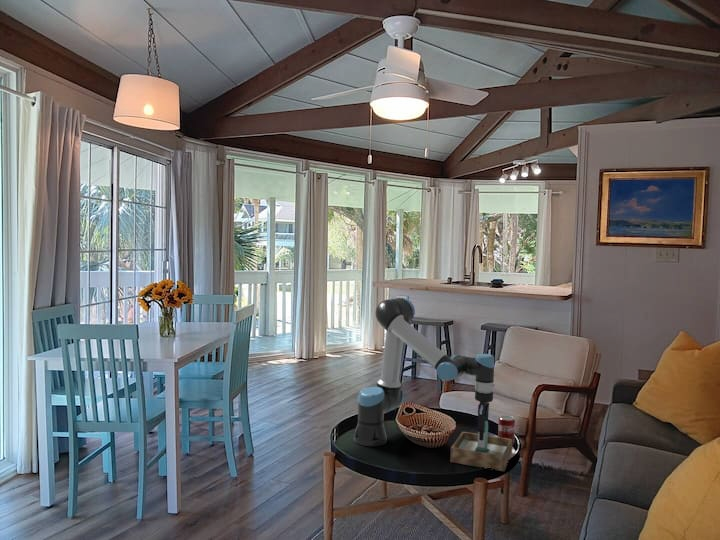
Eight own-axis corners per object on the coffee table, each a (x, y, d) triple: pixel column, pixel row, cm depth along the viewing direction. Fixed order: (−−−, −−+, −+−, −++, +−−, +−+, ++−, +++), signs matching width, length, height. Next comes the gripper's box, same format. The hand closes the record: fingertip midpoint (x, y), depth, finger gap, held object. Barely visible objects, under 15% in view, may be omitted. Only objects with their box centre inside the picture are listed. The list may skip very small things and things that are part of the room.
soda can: (514, 447, 250) (515, 421, 249) (498, 445, 251) (499, 419, 250) (513, 441, 257) (514, 416, 256) (497, 440, 258) (498, 414, 258)
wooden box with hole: (450, 461, 231) (450, 447, 231) (461, 444, 252) (462, 431, 251) (504, 471, 223) (504, 456, 223) (511, 452, 243) (512, 439, 243)
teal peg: (476, 454, 236) (477, 422, 235) (478, 451, 240) (479, 419, 239) (486, 456, 235) (487, 423, 234) (487, 453, 238) (488, 420, 237)
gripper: (489, 397, 227) (487, 453, 228) (496, 387, 242) (494, 440, 243) (471, 394, 230) (469, 450, 231) (479, 385, 245) (477, 437, 246)
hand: (482, 445), depth 237 cm, fingers closed on teal peg, 3 cm apart
